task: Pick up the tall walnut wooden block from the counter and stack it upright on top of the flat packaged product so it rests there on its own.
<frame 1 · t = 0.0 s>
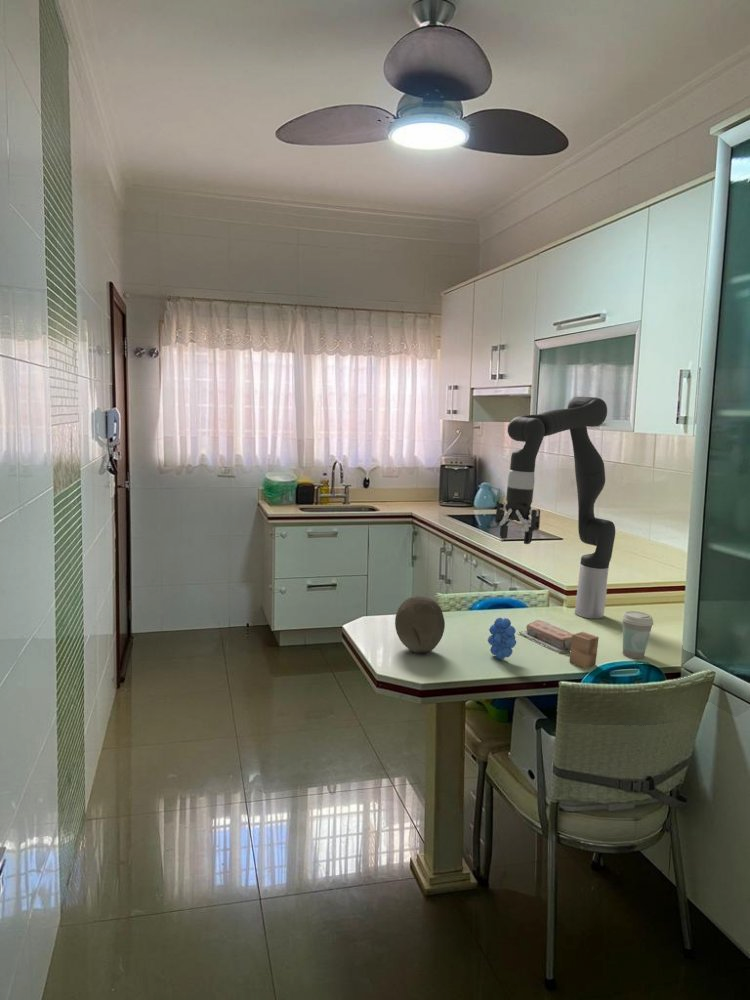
hand: (515, 541, 214), 29 cm above the table, tool pointing down, fingers open, 8 cm apart
packaged product: (550, 643, 217), on the table
coffee cup: (633, 655, 210), on the table
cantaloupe: (417, 651, 201), on the table
walnut block: (582, 663, 200), on the table
grapes: (502, 659, 199), on the table
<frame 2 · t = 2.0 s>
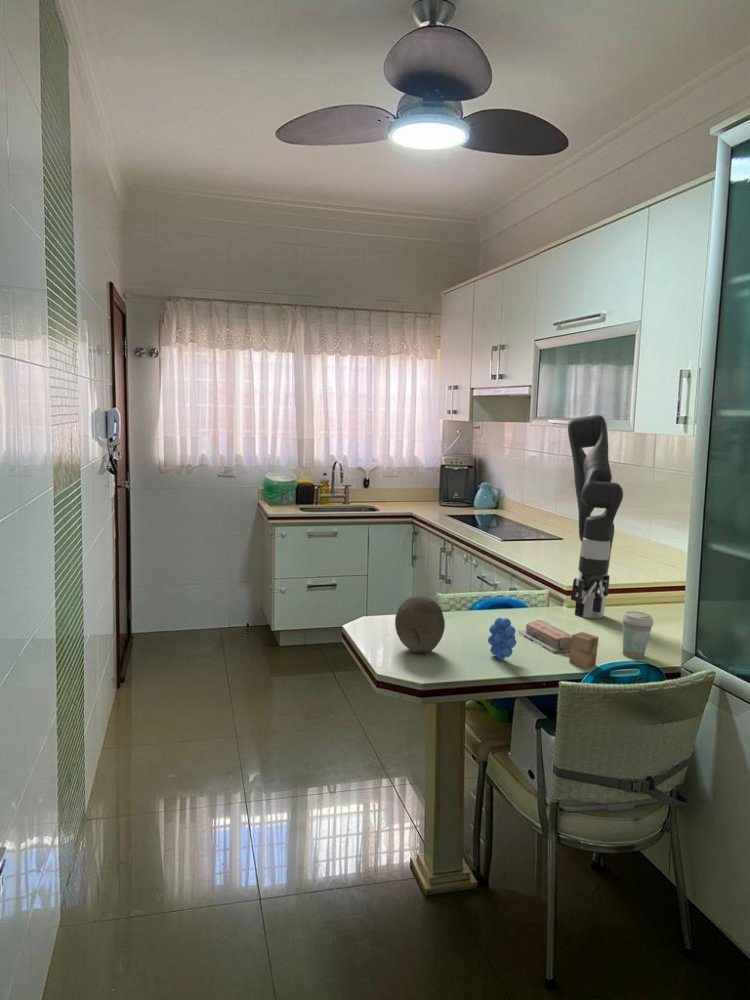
hand: (587, 613, 198), 14 cm above the table, tool pointing down, fingers open, 8 cm apart
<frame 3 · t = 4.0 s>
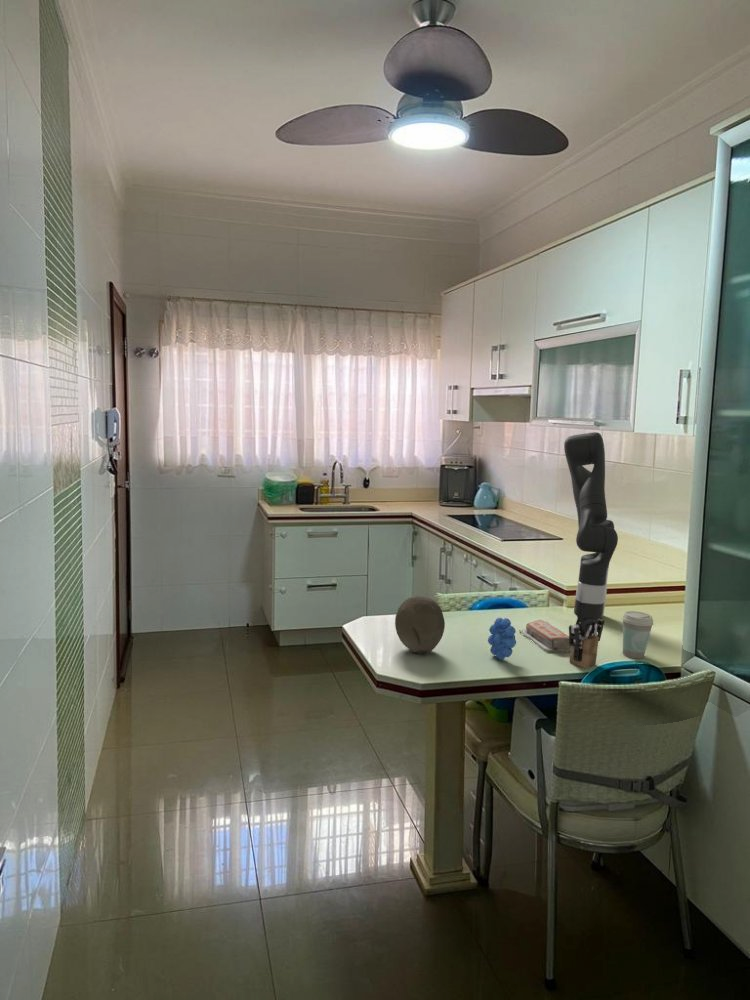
hand: (583, 658, 199), 1 cm above the table, tool pointing down, fingers closed on walnut block, 5 cm apart
walnut block: (582, 663, 200), on the table, touching gripper
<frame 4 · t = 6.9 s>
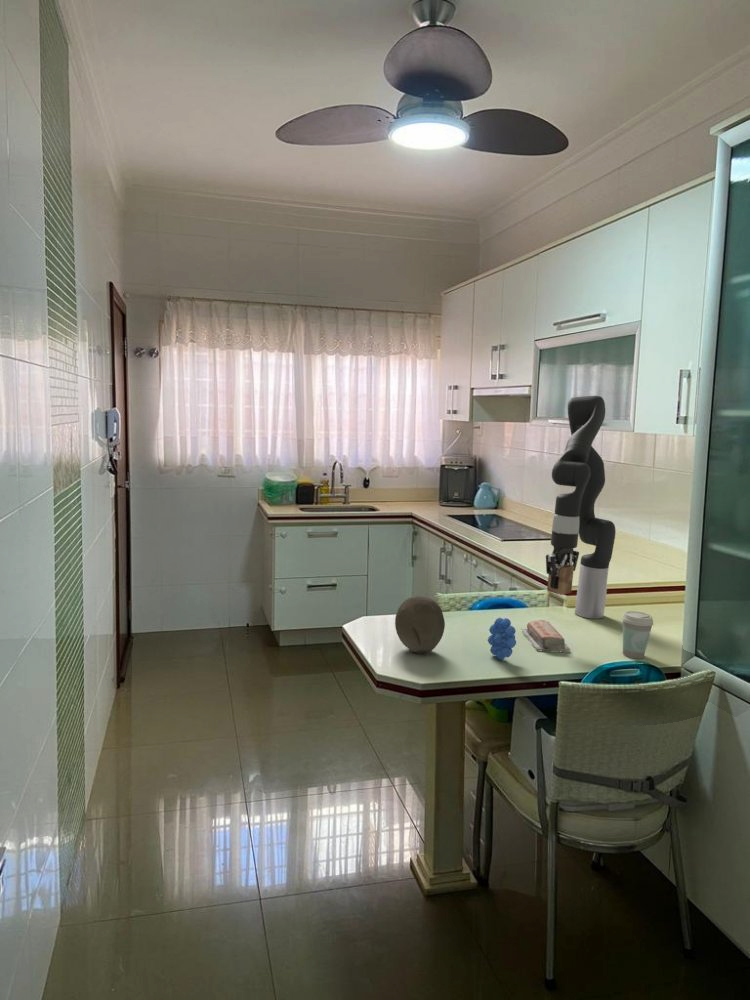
hand: (559, 586, 214), 17 cm above the table, tool pointing down, fingers closed on walnut block, 5 cm apart
walnut block: (559, 591, 214), point 16 cm above the table, touching gripper
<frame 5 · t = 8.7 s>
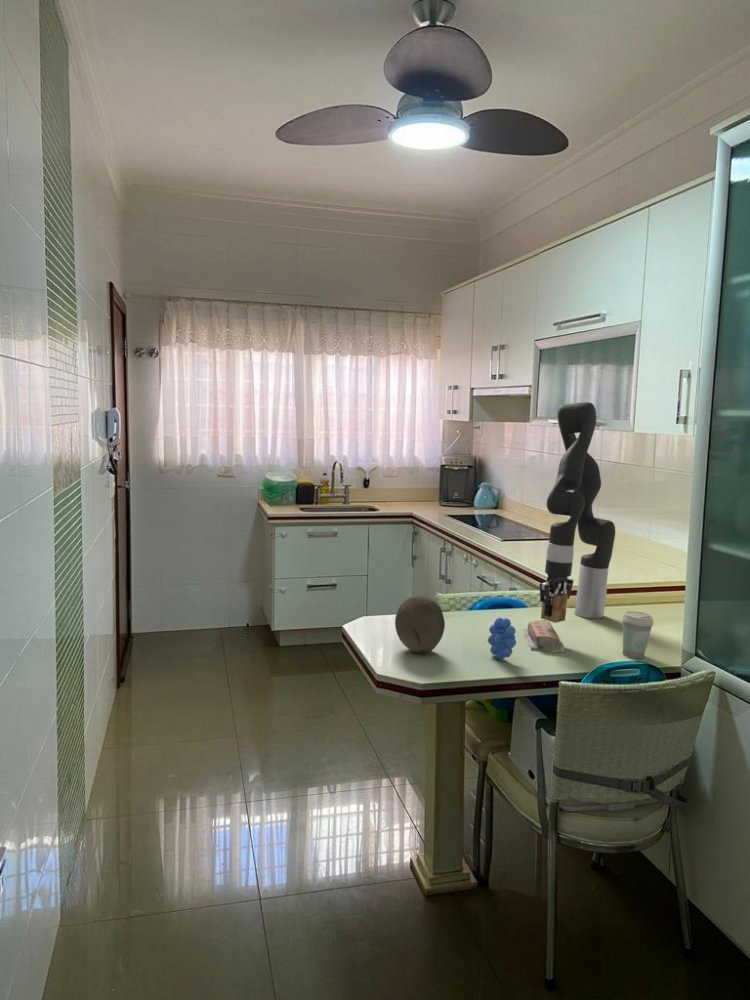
hand: (553, 614, 216), 8 cm above the table, tool pointing down, fingers closed on walnut block, 5 cm apart
walnut block: (552, 619, 216), point 7 cm above the table, touching gripper
when the fingers open (8 cm above the table, at t = 9.6 s): walnut block drops 2 cm, point 4 cm above the table.
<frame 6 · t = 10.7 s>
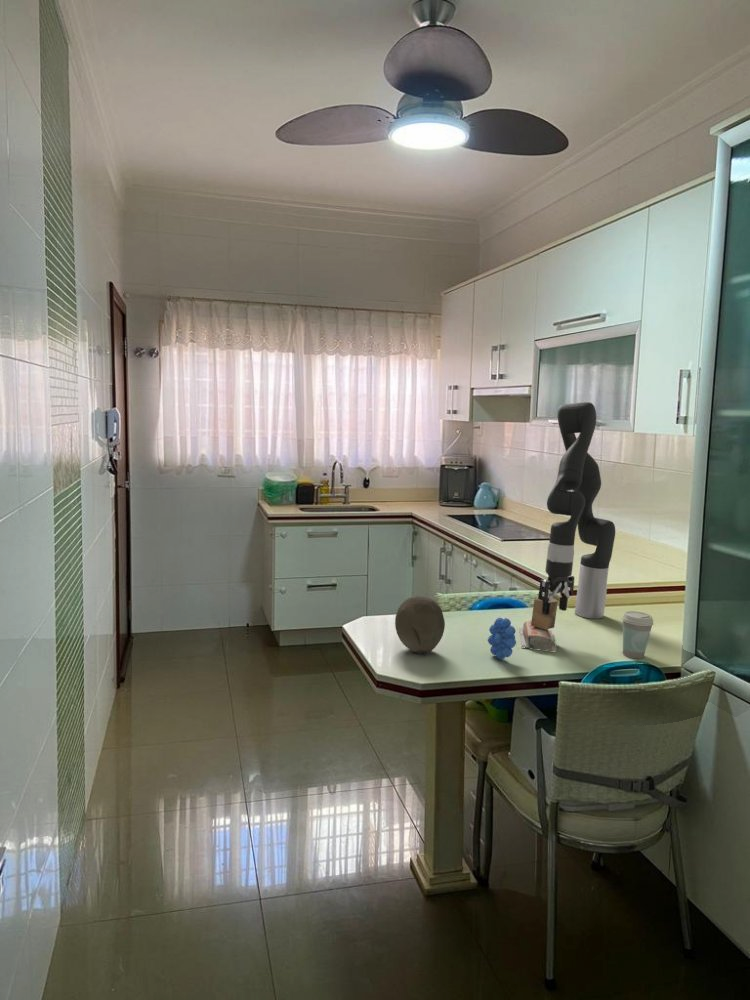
hand: (554, 612, 215), 9 cm above the table, tool pointing down, fingers open, 8 cm apart
packaged product: (536, 642, 217), on the table
walnut block: (542, 626, 216), point 4 cm above the table, touching gripper
everything else where it was.
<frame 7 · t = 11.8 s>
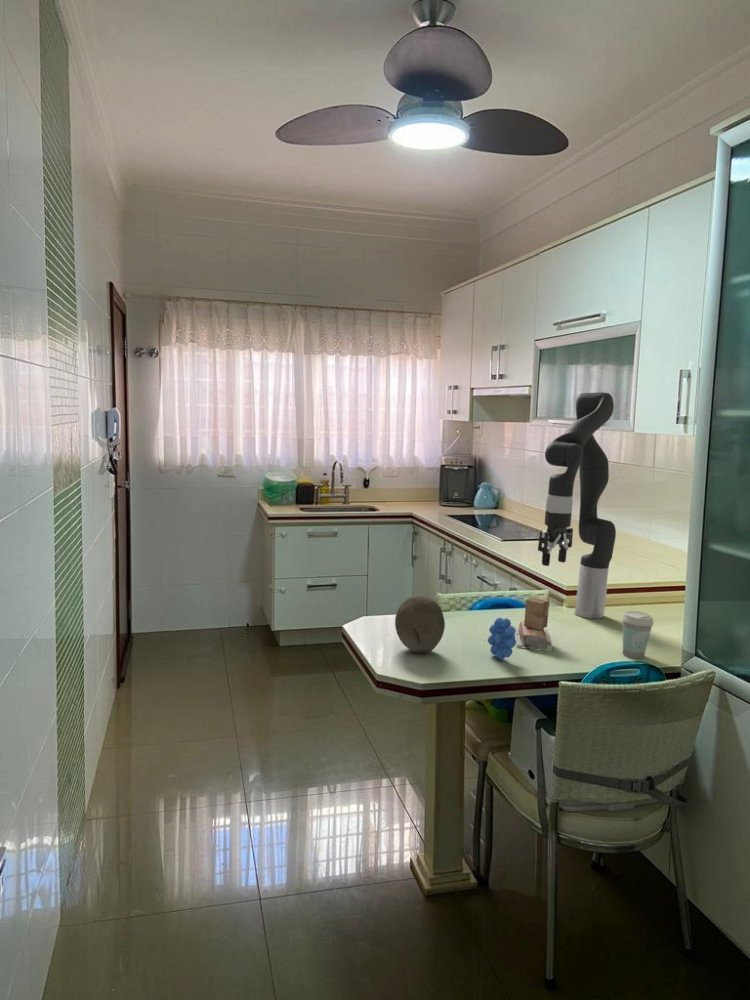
hand: (553, 563, 217), 23 cm above the table, tool pointing down, fingers open, 8 cm apart
packaged product: (532, 642, 217), on the table, touching walnut block
walnut block: (535, 626, 216), point 4 cm above the table, touching packaged product
everything else where it was.
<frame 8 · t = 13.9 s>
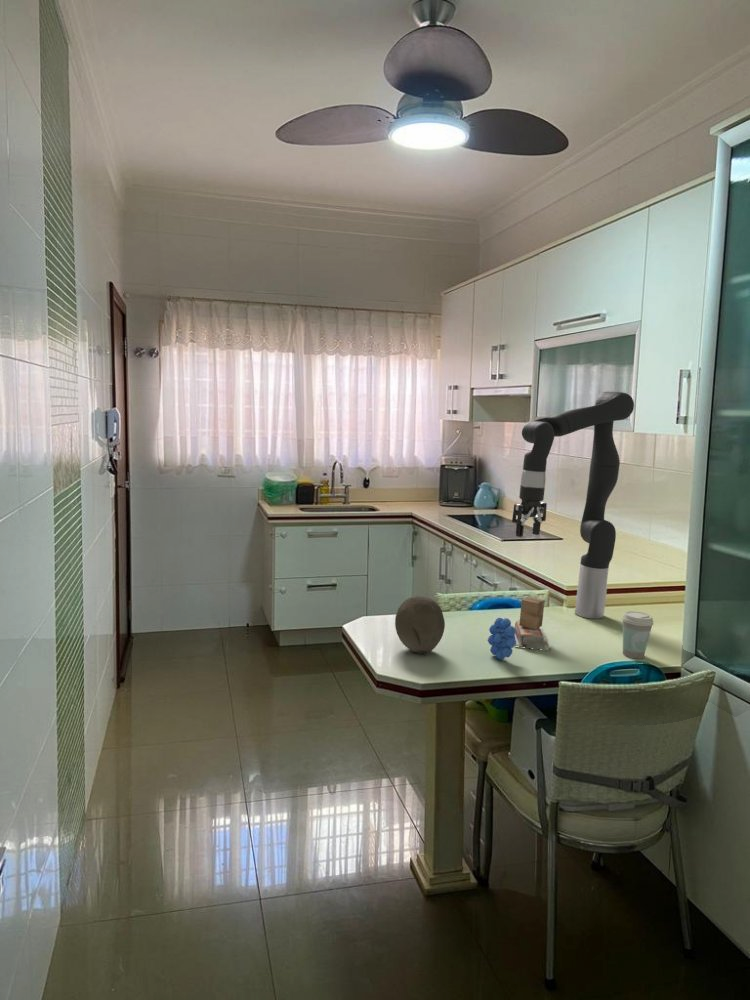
hand: (527, 535, 231), 28 cm above the table, tool pointing down, fingers open, 8 cm apart
packaged product: (528, 641, 218), on the table, touching walnut block
walnut block: (530, 625, 217), point 4 cm above the table, touching packaged product
everything else where it was.
at the end: walnut block inside the target area on the packaged product (0.3 cm from its centre), point 5.1 cm above the packaged product's base; walnut block touching packaged product; walnut block tilted 1° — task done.
